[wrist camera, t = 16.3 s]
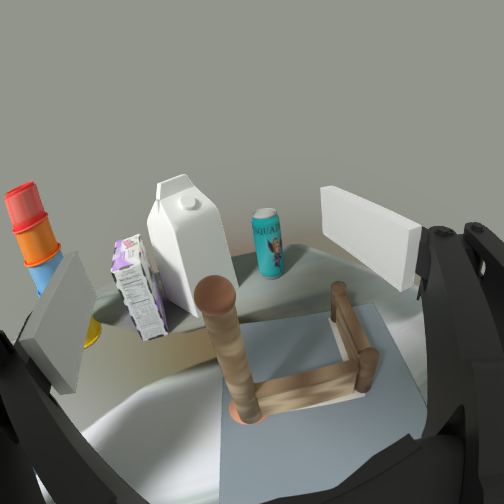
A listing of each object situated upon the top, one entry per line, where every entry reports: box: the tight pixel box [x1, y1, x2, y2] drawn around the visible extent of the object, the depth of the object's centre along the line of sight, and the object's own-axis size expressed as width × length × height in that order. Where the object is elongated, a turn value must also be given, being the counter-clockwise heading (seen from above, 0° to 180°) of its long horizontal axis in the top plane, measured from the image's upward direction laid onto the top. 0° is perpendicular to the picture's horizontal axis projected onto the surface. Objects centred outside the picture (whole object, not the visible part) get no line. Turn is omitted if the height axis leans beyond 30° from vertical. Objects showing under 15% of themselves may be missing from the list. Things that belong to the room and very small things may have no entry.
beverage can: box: [252, 208, 284, 279], centre depth 62 cm, size 6×6×15 cm
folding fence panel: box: [194, 275, 359, 424], centre depth 29 cm, size 16×4×22 cm, turn 98°
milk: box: [147, 174, 239, 318], centre depth 56 cm, size 12×12×26 cm
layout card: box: [219, 303, 427, 504], centre depth 34 cm, size 28×38×1 cm
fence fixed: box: [331, 281, 380, 393], centre depth 40 cm, size 2×18×7 cm, turn 2°
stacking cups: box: [5, 181, 101, 349], centre depth 45 cm, size 10×10×35 cm
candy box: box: [111, 234, 169, 341], centre depth 53 cm, size 14×6×16 cm, turn 21°
